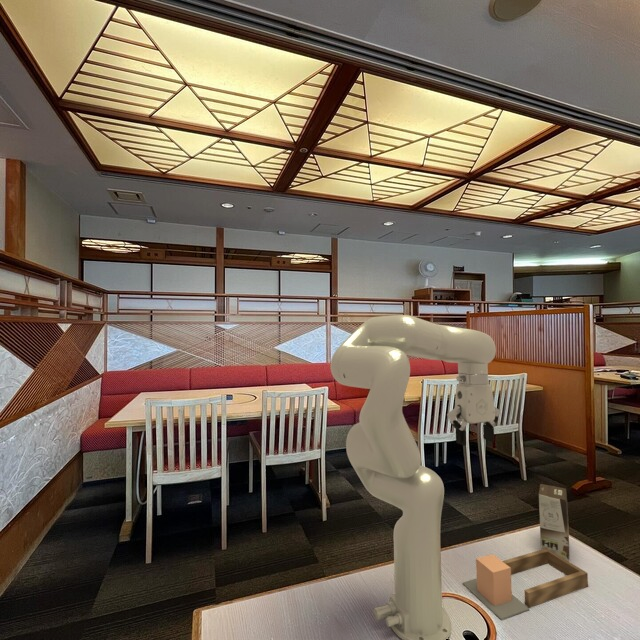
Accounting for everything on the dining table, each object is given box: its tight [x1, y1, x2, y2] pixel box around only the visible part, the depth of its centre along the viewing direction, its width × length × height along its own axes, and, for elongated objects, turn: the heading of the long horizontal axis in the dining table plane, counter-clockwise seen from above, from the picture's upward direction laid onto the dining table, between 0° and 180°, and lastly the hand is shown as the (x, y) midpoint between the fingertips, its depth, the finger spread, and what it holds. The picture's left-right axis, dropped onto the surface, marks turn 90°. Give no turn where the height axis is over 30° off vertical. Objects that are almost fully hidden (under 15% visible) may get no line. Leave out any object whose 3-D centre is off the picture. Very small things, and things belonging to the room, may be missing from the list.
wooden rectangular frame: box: [501, 548, 589, 609], centre depth 80 cm, size 19×10×3 cm, turn 109°
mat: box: [462, 577, 531, 621], centre depth 75 cm, size 8×11×1 cm
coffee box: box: [538, 483, 570, 562], centre depth 92 cm, size 9×6×16 cm
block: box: [475, 553, 513, 606], centre depth 76 cm, size 5×5×7 cm
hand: (475, 442), depth 91 cm, fingers open, 9 cm apart
